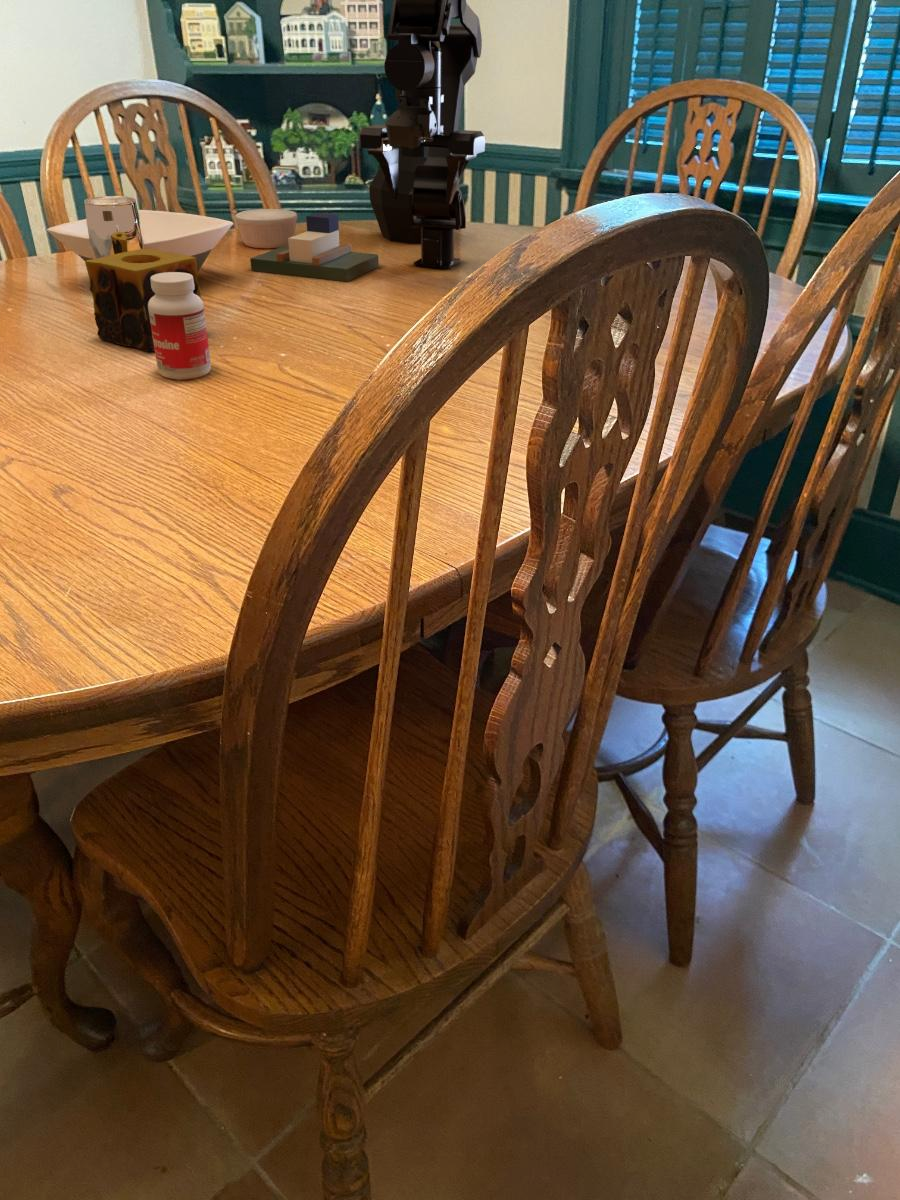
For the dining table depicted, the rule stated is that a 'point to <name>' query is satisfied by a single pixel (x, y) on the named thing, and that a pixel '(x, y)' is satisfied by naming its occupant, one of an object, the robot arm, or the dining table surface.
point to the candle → (131, 292)
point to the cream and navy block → (315, 238)
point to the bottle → (396, 212)
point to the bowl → (156, 234)
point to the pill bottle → (178, 327)
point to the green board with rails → (317, 263)
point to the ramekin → (266, 227)
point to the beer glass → (113, 225)
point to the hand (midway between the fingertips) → (421, 201)
